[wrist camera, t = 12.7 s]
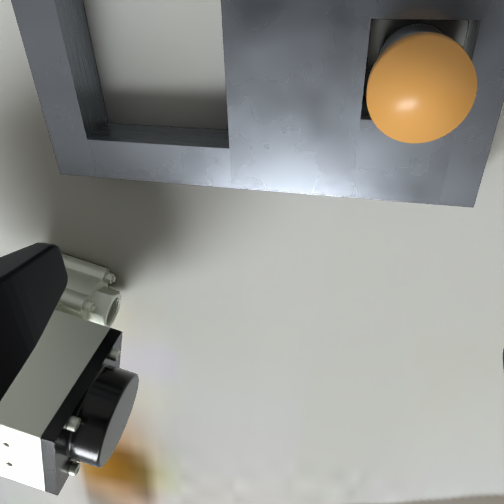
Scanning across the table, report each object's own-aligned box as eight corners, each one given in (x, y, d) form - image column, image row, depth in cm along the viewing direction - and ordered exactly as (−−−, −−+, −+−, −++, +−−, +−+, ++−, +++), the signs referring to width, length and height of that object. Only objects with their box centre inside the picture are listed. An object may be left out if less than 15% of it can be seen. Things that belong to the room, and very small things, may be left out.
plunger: (469, 14, 16) (489, 38, 13) (450, 107, 18) (463, 146, 15) (374, 13, 17) (372, 36, 14) (364, 103, 19) (361, 140, 16)
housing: (543, -111, 15) (562, -113, 13) (466, 184, 20) (473, 207, 19) (19, -92, 18) (-15, -91, 16) (82, 156, 24) (60, 174, 22)
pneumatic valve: (-10, 218, 28) (-216, 381, 18) (181, 280, 27) (74, 481, 18) (-1, 286, 31) (-170, 454, 21) (170, 343, 31) (75, 540, 21)
